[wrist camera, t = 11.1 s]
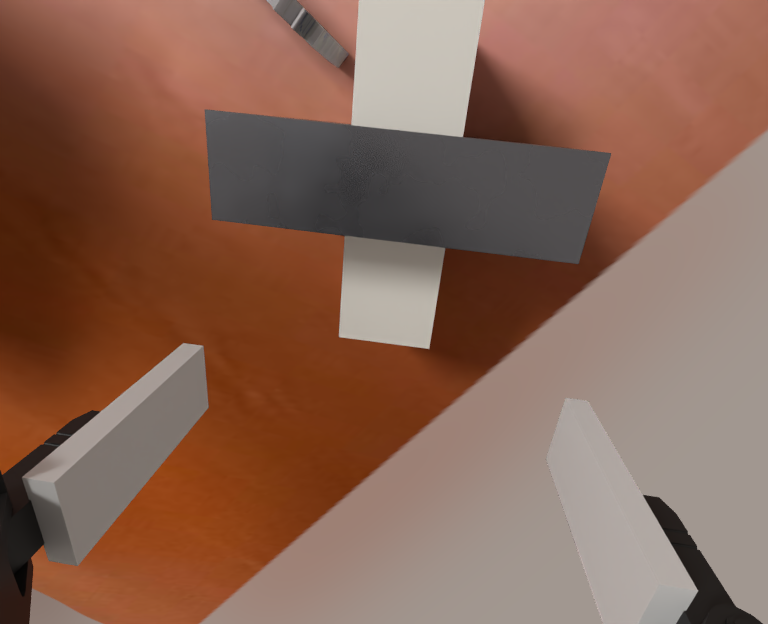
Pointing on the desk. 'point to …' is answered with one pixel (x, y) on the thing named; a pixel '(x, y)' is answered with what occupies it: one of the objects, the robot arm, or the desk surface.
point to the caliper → (310, 30)
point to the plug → (416, 114)
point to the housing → (403, 185)
